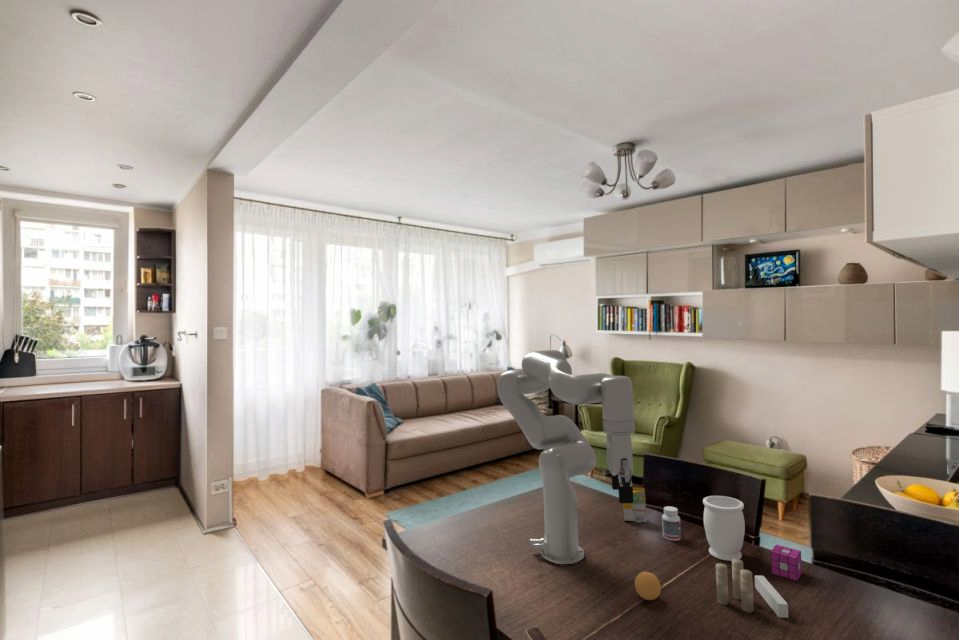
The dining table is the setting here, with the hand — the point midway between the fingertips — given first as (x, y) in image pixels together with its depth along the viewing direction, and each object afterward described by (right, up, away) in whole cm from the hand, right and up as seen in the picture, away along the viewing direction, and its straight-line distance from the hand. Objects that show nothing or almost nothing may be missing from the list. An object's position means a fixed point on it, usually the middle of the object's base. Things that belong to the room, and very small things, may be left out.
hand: (622, 495), depth 115 cm
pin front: (+22, -24, -5) cm, 33 cm away
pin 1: (+27, -23, -3) cm, 36 cm away
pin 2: (+27, -23, -8) cm, 36 cm away
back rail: (+33, -23, -5) cm, 41 cm away
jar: (+35, -24, +18) cm, 46 cm away
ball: (+6, -21, -2) cm, 22 cm away
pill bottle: (+24, -24, +29) cm, 45 cm away
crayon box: (+17, -25, +43) cm, 52 cm away
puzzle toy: (+45, -23, +7) cm, 52 cm away
